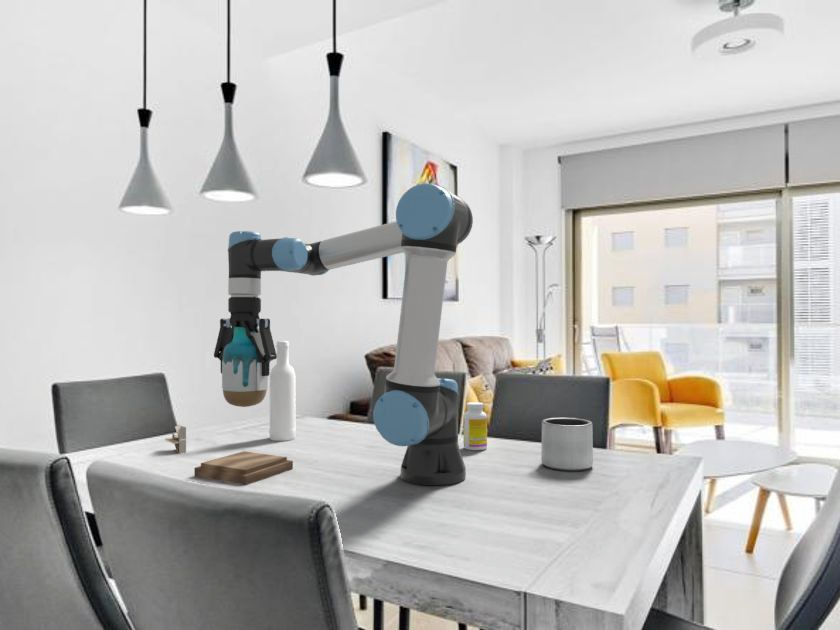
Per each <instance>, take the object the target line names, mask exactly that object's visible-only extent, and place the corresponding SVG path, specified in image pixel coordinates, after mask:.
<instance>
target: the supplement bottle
mask: <svg viewBox="0 0 840 630" xmlns="http://www.w3.org/2000/svg"><path fill="white" fill-rule="evenodd" d="M466 409H467V411H465V412H464V413H463V417H462V419H463V448H464V449H465V450H467V451H473V452H474V451H477V452H478V451H484V450H486V449H487V448H488V423H487V422H488V419H487V418H488V415H487V413H486V412H485V411H484V410H483V409H484V403H483V402H477V401H476V402H475V401H473V402H472V401H471V402H466Z"/></svg>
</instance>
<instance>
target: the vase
mask: <svg viewBox="0 0 840 630" xmlns="http://www.w3.org/2000/svg"><path fill="white" fill-rule="evenodd" d="M252 333H256V331H252ZM258 361H259V357H258V355H257V353H256V349H255V346H254V345H253V344H252V342H251V340H250V338H248V337H247V335H246V331H245V328H243V327H234V334H233V340H232V342H230V343H229V344H227V345H226V346H225V348H224V352H223V360H222V374H221V388H222V387H223V388H222V393H223V394H222V395H223V397H224V400H225V401H226V402H227V403H228V404H229V405H230V406H231V405H232V406H234V407H242V408H245V407H246V408H249V407H252V406H256V405H259V404H261V403H262V402H263V400H265V397H266V395H267V390H268V389H267V390H261V391H257V363H259V362H258Z"/></svg>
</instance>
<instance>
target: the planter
mask: <svg viewBox="0 0 840 630" xmlns="http://www.w3.org/2000/svg"><path fill="white" fill-rule="evenodd" d="M593 434H594V433H593V421H590V420H588V419H583V418H577V417H549V418H544V419H542V420H541V453H540V454H541V457H540V458H541V459H540V460H541V464H542V465H543V466H545V467H546V468H548V469H552V470H557V471H561V472H562V471H563V472H579V471H580V472H582V471H585V470H588V469H590V468H591V467H593V464H594V447H593V446H594V444H593V443H594V441H593V440H594V439H593Z"/></svg>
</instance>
